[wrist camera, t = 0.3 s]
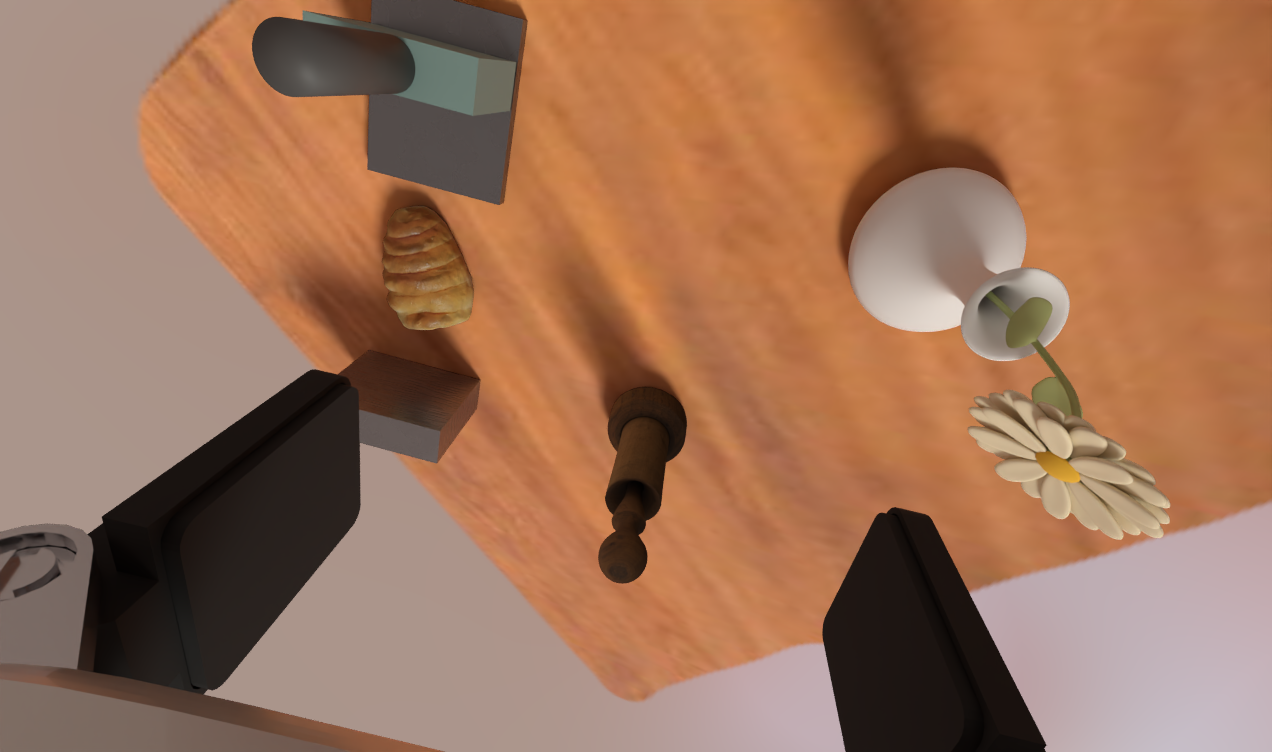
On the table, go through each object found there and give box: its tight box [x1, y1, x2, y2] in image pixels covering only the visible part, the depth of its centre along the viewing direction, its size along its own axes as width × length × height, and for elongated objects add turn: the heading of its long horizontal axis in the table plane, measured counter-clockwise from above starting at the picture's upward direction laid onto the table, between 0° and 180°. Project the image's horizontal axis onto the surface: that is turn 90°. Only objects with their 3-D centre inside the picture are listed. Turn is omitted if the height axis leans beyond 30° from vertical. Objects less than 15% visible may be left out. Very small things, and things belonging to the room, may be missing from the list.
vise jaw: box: [252, 11, 516, 116], centre depth 32 cm, size 3×10×16 cm, turn 77°
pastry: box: [382, 206, 474, 330], centre depth 46 cm, size 9×7×4 cm
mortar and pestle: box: [598, 387, 687, 583], centre depth 43 cm, size 7×6×18 cm
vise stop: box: [337, 350, 480, 463], centre depth 48 cm, size 3×10×8 cm, turn 76°
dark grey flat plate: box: [368, 0, 527, 205], centre depth 41 cm, size 12×10×1 cm
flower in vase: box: [848, 167, 1170, 540], centre depth 31 cm, size 13×11×25 cm
